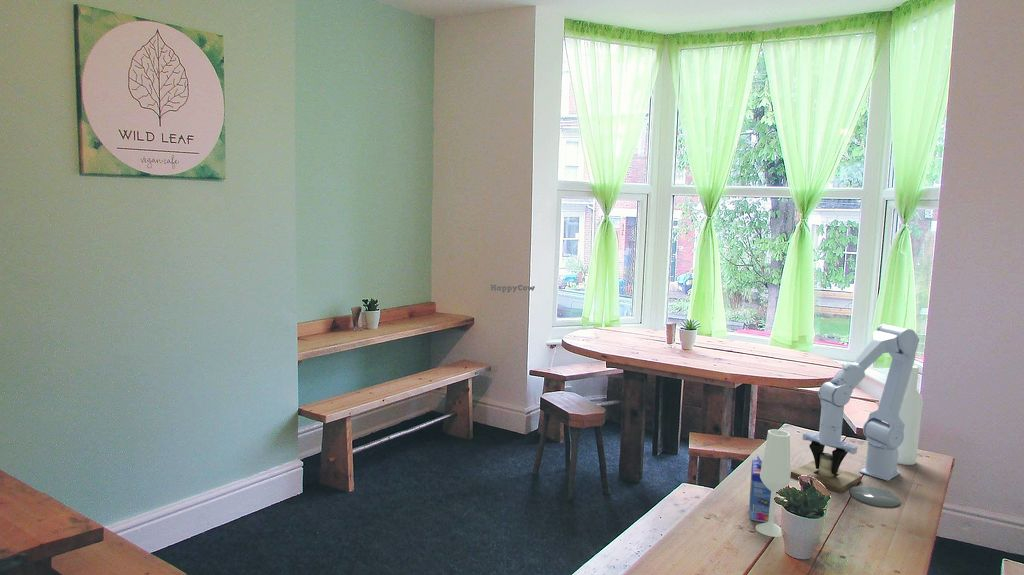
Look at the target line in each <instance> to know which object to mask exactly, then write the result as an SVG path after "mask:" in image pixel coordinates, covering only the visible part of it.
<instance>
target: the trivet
mask: <svg viewBox="0 0 1024 575" xmlns="http://www.w3.org/2000/svg"><path fill="white" fill-rule="evenodd" d="M849 496H851V497H852V498H853V499H855V500H856V501H859V502H860V503H863V504H866V505H870V506H873V507H878V508H879V507H880V508H895V507H898V506H900V505H901V499H900V498H899V497H898V496H897V495H896V494H894V493H892V492H890V491H888V490H885V489H882V488H879V487H872V486H865V485H857V486H851V487H850V489H849Z"/></svg>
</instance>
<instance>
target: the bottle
mask: <svg viewBox="0 0 1024 575" xmlns="http://www.w3.org/2000/svg"><path fill="white" fill-rule="evenodd" d="M919 370H920V369H919V367H918V366H916V365H913V367H912V371H911V374H910V378H909V381H908V385H907V388H906V391H905V395H904V398H903V402H902V405H901V409H900V412H899V417H900V419H901V420H902V421H903V423H904V425H905V427H904V440H903V442H902V444H901V445H900V446H899V447H898V448H897V449H898V452H899V454H898V463H897V464H899V465H904V466H913V465H915V464H917V459H918V450H919V449H918V448H919V440H920V432H921V431H920V429H921V421H922V413H923V405H924V400H923V396H922V394H921V393H920V392H919V390H918V389H917V388H918V378H919V374H920V371H919Z"/></svg>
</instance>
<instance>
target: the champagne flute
mask: <svg viewBox="0 0 1024 575" xmlns="http://www.w3.org/2000/svg"><path fill="white" fill-rule="evenodd" d="M761 461H762V466H761V472H760V478H761V480H762V482H763V484H764V485H765V486H766V487H767V488H768V489H769V490H770V491H771V498H770V509H769V520H768V522H761V523H759V524H756V525H755V530H756V531H757V532H758V533H760V534H762V535H764V536H767V537H774V538H781V537H782V536H781V528H782V527H780V526H779V525H778V524H776V523H775V512H776V502H775V500H774V498H775V497H776V498H777V493H776V492H778V491H779V490H780V489H782V490H784V489H785V488H786V487H788V485H789V484H790V482H791V477H790V475H791V434H790V432H787V431H785V430H782V429H768V430H767V436H766V441H765V447H764V452H763V458H762V460H761ZM783 488H784V489H783ZM780 491H781V490H780ZM780 491H779V492H780ZM779 492H778V493H779Z"/></svg>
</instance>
